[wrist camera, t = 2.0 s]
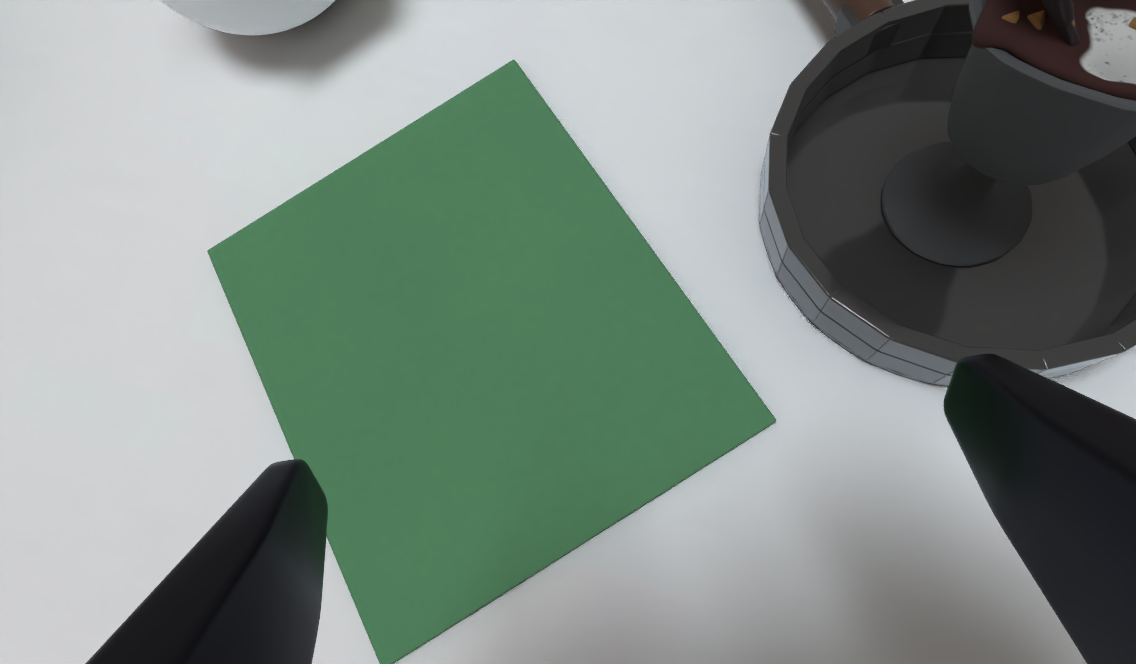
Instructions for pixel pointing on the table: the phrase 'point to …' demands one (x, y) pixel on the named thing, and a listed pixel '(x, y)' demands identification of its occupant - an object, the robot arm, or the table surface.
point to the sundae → (1017, 124)
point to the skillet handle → (862, 18)
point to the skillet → (905, 279)
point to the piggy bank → (249, 14)
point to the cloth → (475, 357)
